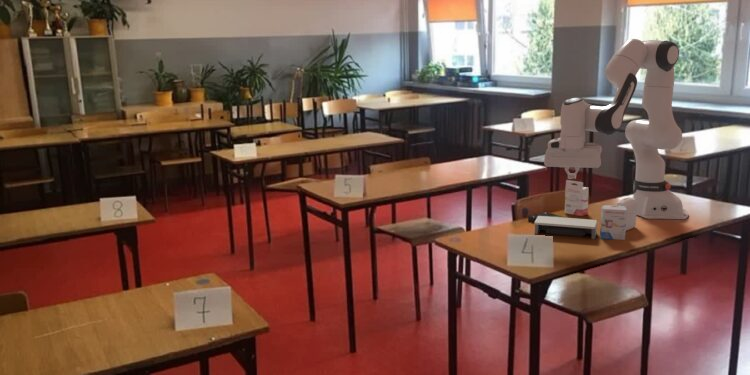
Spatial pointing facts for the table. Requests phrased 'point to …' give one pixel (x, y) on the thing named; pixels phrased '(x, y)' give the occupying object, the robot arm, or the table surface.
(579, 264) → the table surface
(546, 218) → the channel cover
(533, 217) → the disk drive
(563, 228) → the dark grey bar
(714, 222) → the table surface
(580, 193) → the ink cartridge box
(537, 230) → the cable channel
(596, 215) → the table surface
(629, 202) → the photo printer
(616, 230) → the ink box
